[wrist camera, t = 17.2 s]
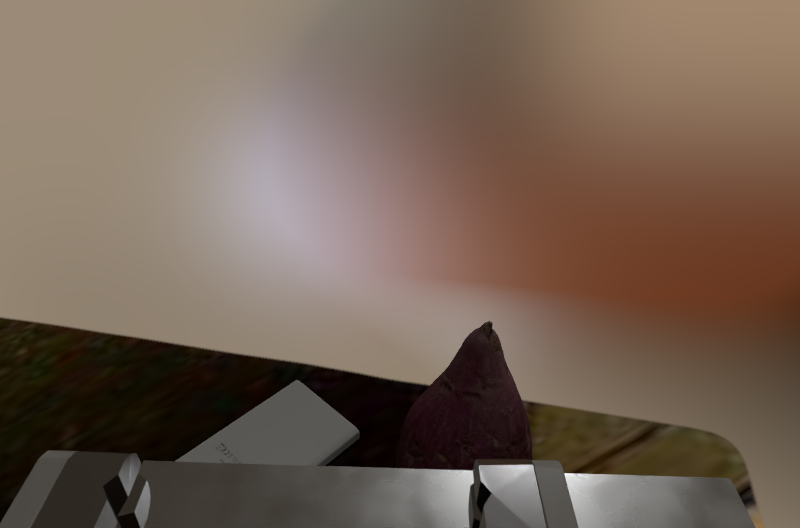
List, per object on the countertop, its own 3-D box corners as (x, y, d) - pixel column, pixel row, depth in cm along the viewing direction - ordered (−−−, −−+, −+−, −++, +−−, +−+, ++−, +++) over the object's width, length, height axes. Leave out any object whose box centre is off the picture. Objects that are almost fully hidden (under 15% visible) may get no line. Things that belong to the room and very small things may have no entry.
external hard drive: (360, 442, 49) (231, 546, 41) (297, 390, 53) (171, 475, 46) (359, 429, 48) (227, 533, 40) (296, 377, 52) (167, 462, 45)
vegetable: (428, 436, 53) (435, 279, 48) (542, 473, 48) (563, 304, 43) (369, 509, 44) (371, 326, 39) (502, 563, 39) (523, 364, 35)
